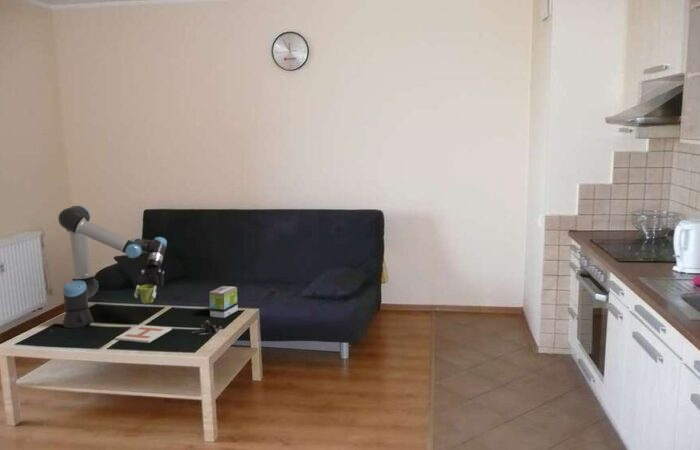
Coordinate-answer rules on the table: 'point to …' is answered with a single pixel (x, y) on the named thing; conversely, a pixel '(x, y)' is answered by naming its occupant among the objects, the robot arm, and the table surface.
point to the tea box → (223, 301)
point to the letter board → (143, 333)
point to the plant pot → (146, 293)
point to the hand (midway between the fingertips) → (144, 296)
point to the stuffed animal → (208, 328)
